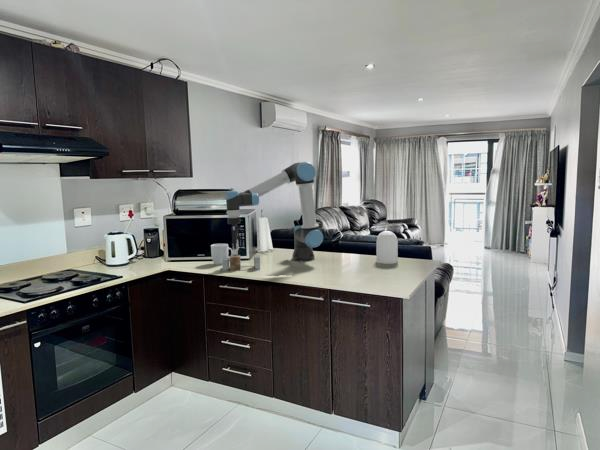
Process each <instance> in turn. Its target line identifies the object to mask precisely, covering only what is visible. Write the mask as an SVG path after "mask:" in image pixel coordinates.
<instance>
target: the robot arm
mask: <svg viewBox="0 0 600 450" xmlns="http://www.w3.org/2000/svg"><path fill="white" fill-rule="evenodd" d="M316 174H317V170H316V167H315V165H314V164H312V163H311V162H306V161H302V162H295V163H292V164H291V165H289V166H288V167H286V168H284V169H282V170H281V172H279V173H278V174H276V175H274V176H272V177H270V178H268V179H266V180H264V181H262V182H260V183H258V184H257V185H255V186H252V187H250V188H249V189H246V190H244V191H243V192H239V191H238V190H228V191H226V192H225V201H226V212H225V214H226V215H227V216H226V217H227V220H226V221H227V224H228V225H231V226H230V231H231V242H230V244H231V245H232V250H233V256H234V255H239V252H238V251H239V250H240V247H239V240H240V237H239V234H238V232H239V231H238V230H239V226H238V225H239V224H241V209H240V207H252V206H253V207H254V206H258V205H259V204H260V197H263V196H265V195H266V194H269V193H270V192H272V191H274V190H276V189H278V188H280V187H282V186H284V185H286V184H288V185H290V184H291V183H293V182H295V185H296V186H297V187H298V191H299V192H298V193H299V200H300V201H299V202H300V208H301V218H302V225H296V226H294V230H293V232H294V233H293V234H294V237H293V238H294V242H293V243H294V249H293V251H292V255H291V258H292V260H293V261H295V262H296V261H297V262H308V261H309V262H310V261H314V260H315V259H316V257H315V253H314V250H313V248H317V247H319V246H320V245H321V244H322V243H323V240H324V235H323V233H322V231H321V229H320V225H319V223H317V217H316V216H317V215H316V207H315V199H314V189H313V185H314V184H315V177H316Z"/></svg>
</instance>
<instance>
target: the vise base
mask: <svg viewBox="0 0 600 450" xmlns="http://www.w3.org/2000/svg"><path fill="white" fill-rule="evenodd" d="M244 267H245V268H246V267H248V268H249V267H252V265H245V266H244V265H241V268H244ZM260 270H261V268H260V269H255V268H253V269H252V271H260ZM238 271H239V272H240V271H242V272H244V271H246V269H240V270H230V272H238ZM218 272H219V273H221V274H222V273H224V271H223V267H220V269H219V271H218Z"/></svg>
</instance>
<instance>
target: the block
mask: <svg viewBox="0 0 600 450" xmlns="http://www.w3.org/2000/svg"><path fill="white" fill-rule="evenodd" d="M229 258H230V260H229V271H231V270H242V269H241V268H242V267H241V266H242V264H241V263H242V262H241V254H238V255H233V256H231V255H229Z"/></svg>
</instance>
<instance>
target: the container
mask: <svg viewBox="0 0 600 450" xmlns="http://www.w3.org/2000/svg"><path fill="white" fill-rule="evenodd" d="M375 246H376V249H375V250H376V252H375V253H376V254H375V255H376V263H378V264H385V265H386V264H387V265H389V264H396V263H398V261H399V259H398V258H399V256H398V255H399V252H398V249H399V247H398V246H399V241H398V237H397V235H396V234H395V233H394V232H393V231H391V230H383V231H382V232H380V233H379V234H378V235H377V237H376V245H375Z"/></svg>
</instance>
